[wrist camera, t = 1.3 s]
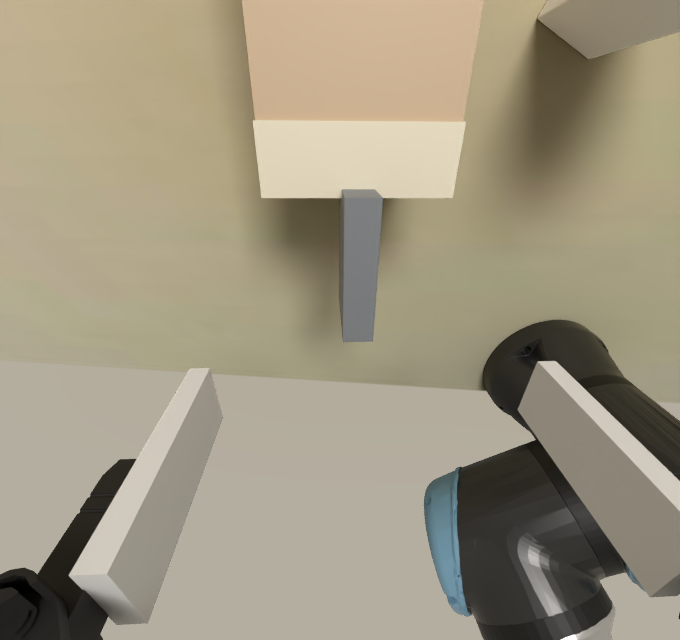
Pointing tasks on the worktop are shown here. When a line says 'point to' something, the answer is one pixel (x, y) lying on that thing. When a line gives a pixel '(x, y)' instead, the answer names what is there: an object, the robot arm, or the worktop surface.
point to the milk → (610, 23)
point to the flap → (359, 114)
